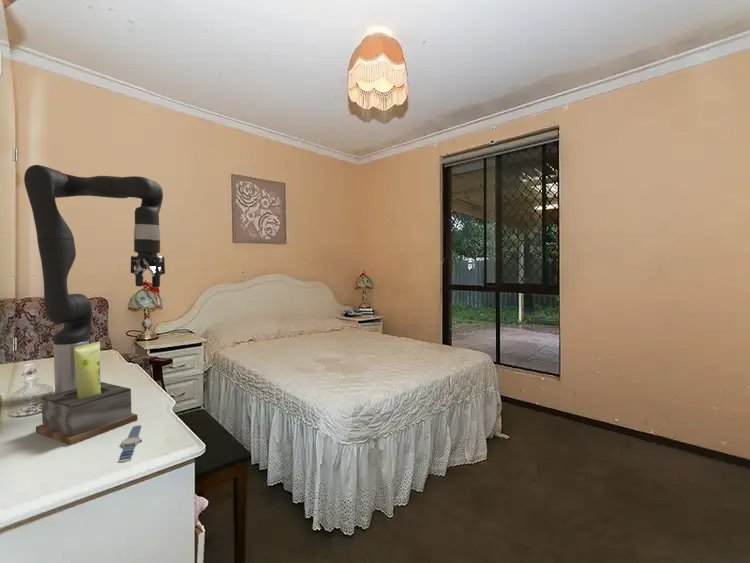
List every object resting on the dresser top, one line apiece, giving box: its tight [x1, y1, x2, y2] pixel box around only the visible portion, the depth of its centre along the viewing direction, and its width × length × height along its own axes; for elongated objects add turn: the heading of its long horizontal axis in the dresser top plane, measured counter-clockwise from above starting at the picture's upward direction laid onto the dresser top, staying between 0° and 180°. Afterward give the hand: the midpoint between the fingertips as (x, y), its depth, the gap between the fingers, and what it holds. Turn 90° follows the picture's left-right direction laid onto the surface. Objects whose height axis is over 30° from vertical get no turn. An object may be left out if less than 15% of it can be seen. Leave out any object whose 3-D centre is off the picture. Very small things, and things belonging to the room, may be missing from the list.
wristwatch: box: [117, 425, 143, 464], centre depth 90 cm, size 4×20×1 cm, turn 26°
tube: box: [74, 340, 102, 400], centre depth 99 cm, size 6×5×20 cm
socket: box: [35, 381, 139, 446], centre depth 99 cm, size 16×16×9 cm
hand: (147, 286), depth 126 cm, fingers open, 8 cm apart
